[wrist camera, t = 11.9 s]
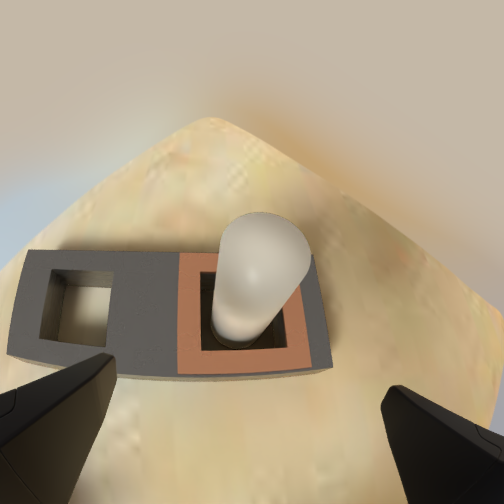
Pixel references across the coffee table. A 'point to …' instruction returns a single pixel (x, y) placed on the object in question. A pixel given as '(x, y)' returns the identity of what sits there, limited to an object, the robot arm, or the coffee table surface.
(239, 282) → the peg
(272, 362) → the rail
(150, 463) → the coffee table surface
